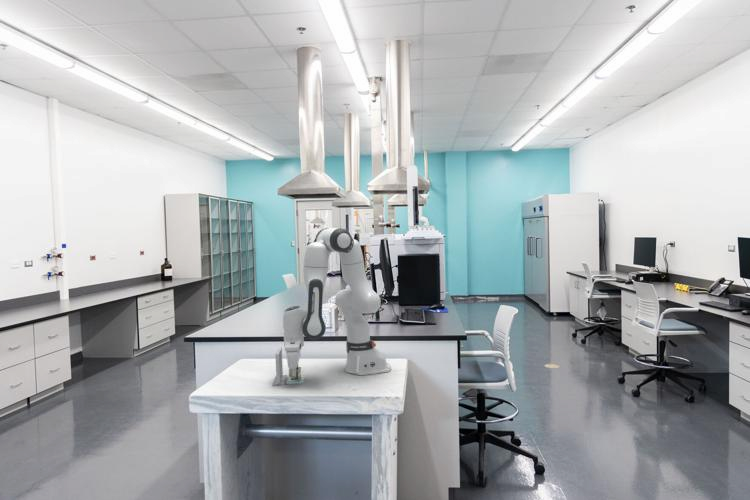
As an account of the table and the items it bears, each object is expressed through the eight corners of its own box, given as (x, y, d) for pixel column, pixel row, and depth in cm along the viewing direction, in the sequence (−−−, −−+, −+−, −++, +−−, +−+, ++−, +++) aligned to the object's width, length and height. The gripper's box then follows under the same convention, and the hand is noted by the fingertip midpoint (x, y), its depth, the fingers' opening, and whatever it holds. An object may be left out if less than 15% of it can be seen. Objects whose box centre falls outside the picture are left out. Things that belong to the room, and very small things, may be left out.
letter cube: (301, 377, 209) (300, 366, 208) (300, 381, 204) (300, 369, 203) (290, 378, 208) (289, 367, 208) (289, 381, 203) (288, 370, 203)
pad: (303, 378, 210) (303, 376, 210) (302, 383, 203) (302, 381, 203) (288, 378, 209) (288, 377, 209) (286, 384, 202) (286, 382, 202)
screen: (286, 376, 212) (285, 347, 212) (284, 385, 200) (282, 354, 200) (275, 377, 212) (274, 347, 211) (272, 385, 200) (271, 354, 199)
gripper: (289, 337, 216) (290, 365, 217) (284, 348, 195) (285, 380, 196) (302, 336, 216) (304, 365, 217) (298, 347, 196) (300, 379, 197)
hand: (295, 372), depth 206 cm, fingers open, 8 cm apart
